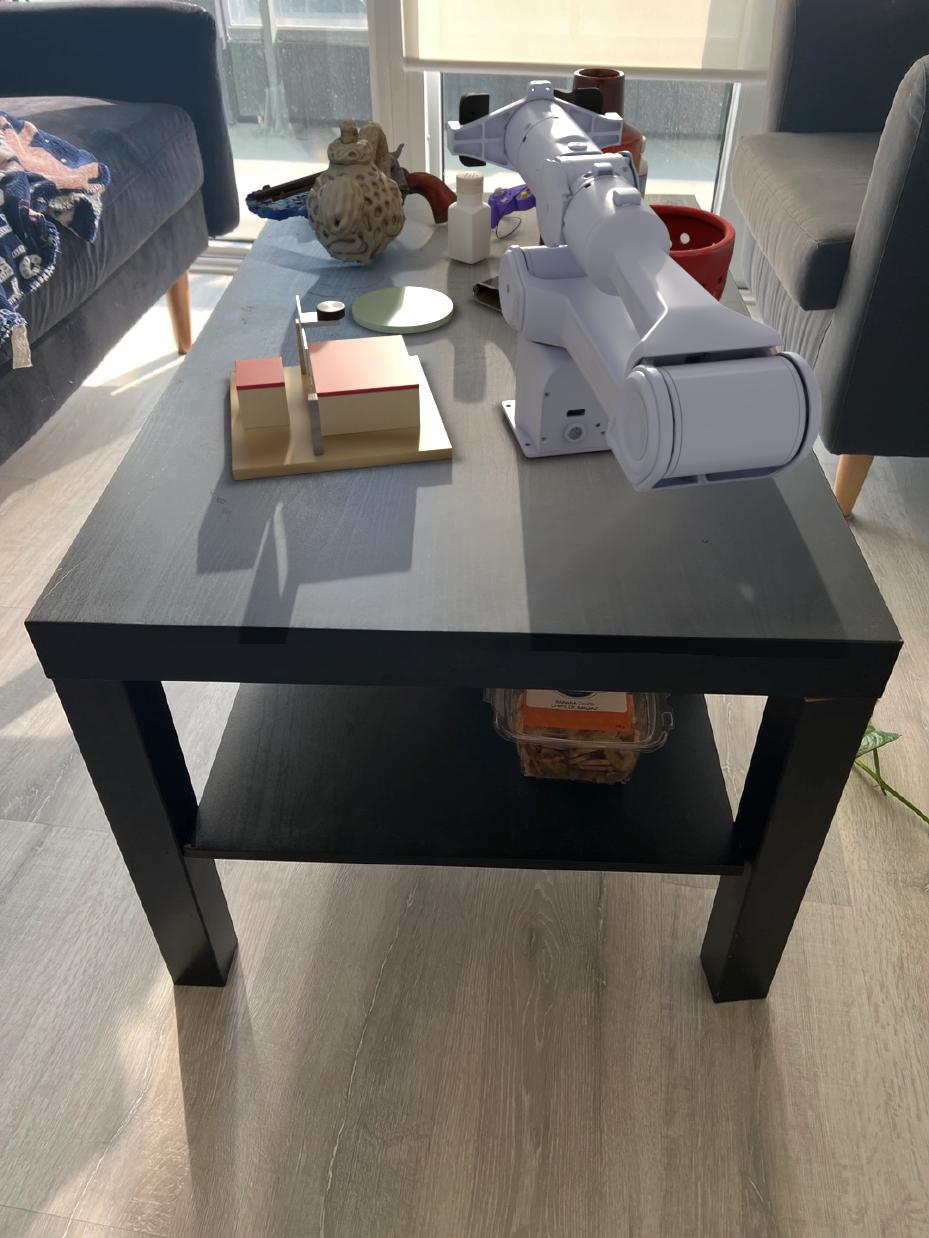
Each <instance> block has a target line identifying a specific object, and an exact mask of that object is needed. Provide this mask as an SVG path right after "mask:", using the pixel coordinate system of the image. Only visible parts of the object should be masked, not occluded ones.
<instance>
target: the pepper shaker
mask: <svg viewBox="0 0 929 1238" xmlns="http://www.w3.org/2000/svg"><path fill="white" fill-rule="evenodd" d="M484 181H485V179H484V173H481V172H479V171H462V172H459V173H457V174H456V175H455V194H456V195H457V202H454V203H453V204H451V205H450V206H449V208H448V221H447V254H448V257H449V258H450V259H453V260H454V261H455V260H456V261H458V262H462V263H466V264H468V265H472V264H475V263H478V262H480V261H483V260H485V259H487V258H488V257H489V256H490V255H491V234H492V233H491V232H492V231H491V230H492V229H491V207H490V206H489V205H488V202H487V203H486V202H485V201H483V194H484Z"/></svg>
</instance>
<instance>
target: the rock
mask: <svg viewBox="0 0 929 1238" xmlns="http://www.w3.org/2000/svg"><path fill="white" fill-rule="evenodd" d="M261 190H262V189H257V190H255V191H254V190H253V191H251V192H250V193H247V194H246V197H245V198H244V201H245V205H246V207H247V210H248V211H249V212H250V213H251V214H253V215H257V217H258V218H260V219H264V220H265V219H268V220H271V221H272V220H273V221H277V222H281V221H285V220H288V219H289V218H295V217H297V218H299V217H302V218H303V217H304V219H306V220H309V218H308V211H307V208H306V202H307V200H308V196H309V192H310V191H307V192H304V193H301V194H298V195H295V196H291V197H288V198H286V199H284V200H279V201H276V202H273V201H272V198H271V199H268V200H264V201H261V202H258V203H257V201H256V198H255V195H254V192H257V191H261Z"/></svg>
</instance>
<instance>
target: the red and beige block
mask: <svg viewBox="0 0 929 1238" xmlns="http://www.w3.org/2000/svg"><path fill="white" fill-rule="evenodd" d="M306 343H307V349H308V358H309V365H310V374H311V383H312V389H313V394H314V393H316V394H317V398H318V405H319V415H320V424H321V433H322V436H329V435H339V434H349V433H360V432H370V431H381V430H391V429H402V428H412V427H420V426H421V419H420V389H419V388H420V384H419V382H418V379H417V376H416V373H415V371H414V368H413V365H412V362H411V360H410V355H409V351H408V348H407V346H406V342H405V341H404V338H403V334H397V335H386V336H371V337H360V338H347V339H335V340H324V341H323V340H322V341H321V340H320V341H310V342H306Z"/></svg>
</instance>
